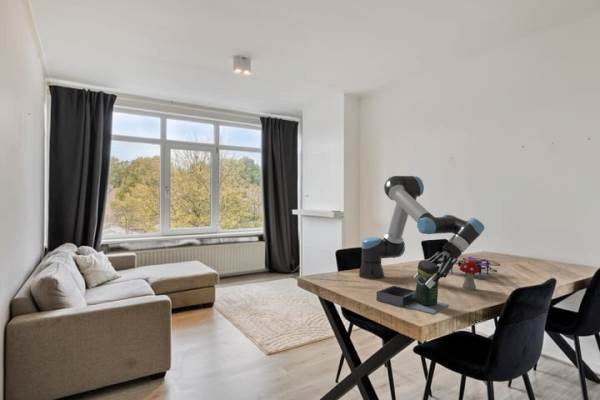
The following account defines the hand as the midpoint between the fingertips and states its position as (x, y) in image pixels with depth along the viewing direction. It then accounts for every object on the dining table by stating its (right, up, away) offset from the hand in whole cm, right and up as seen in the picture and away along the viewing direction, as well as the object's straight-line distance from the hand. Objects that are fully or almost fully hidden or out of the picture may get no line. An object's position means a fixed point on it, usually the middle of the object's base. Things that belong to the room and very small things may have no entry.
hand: (421, 282), depth 146 cm
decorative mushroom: (+36, -10, +28) cm, 47 cm away
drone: (+54, -10, +59) cm, 81 cm away
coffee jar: (+3, -9, +3) cm, 10 cm away
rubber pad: (+3, -11, 0) cm, 11 cm away
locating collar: (-8, -11, +10) cm, 16 cm away
